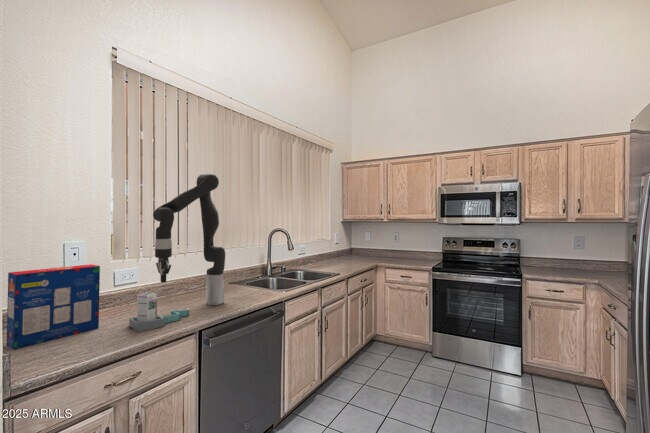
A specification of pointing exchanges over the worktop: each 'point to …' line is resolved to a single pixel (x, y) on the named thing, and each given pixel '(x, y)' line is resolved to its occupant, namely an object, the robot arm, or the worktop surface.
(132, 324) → the holder
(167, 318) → the clip
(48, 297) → the blue toy box
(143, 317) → the syrup box
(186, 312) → the clip
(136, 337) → the worktop surface
